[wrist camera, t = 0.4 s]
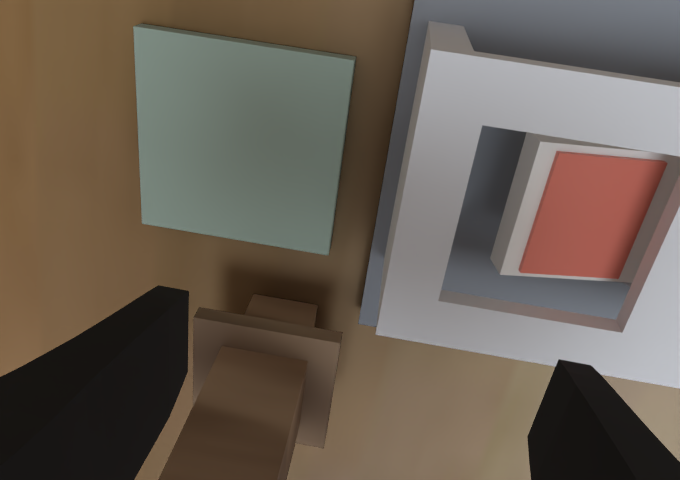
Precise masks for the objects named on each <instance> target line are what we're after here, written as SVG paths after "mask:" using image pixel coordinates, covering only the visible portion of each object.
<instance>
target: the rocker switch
mask: <svg viewBox="0 0 680 480" xmlns="http://www.w3.org/2000/svg"><path fill="white" fill-rule="evenodd" d="M679 175H680V156H673V155H667V154H661V153H654V152H648V151H642V150H635V149H629V148H623V147H617V146H610V145H604V144H598V143H591V142H585V141H579V140H572V139H566V138H560V137H553V136H547V135H541V134H534V133H528V132H527V133H526V136H525V140H524V143H523V147H522V150H521V154H520V157H519V161H518V164H517V167H516V171H515V174H514V178H513V181H512V185H511V188H510V191H509V195H508V198H507V202H506V205H505V209H504V212H503V216H502V219H501V222H500V226H499V229H498V233H497V236H496V240H495V243H494V247H493V250H492V253H491V257H490V259H491V261H492V262H493V264H494V266H495V267H496V269H497V271H498V273H499V274H500V275H512V276H529V277H545V278H562V279H578V280H595V281H611V282H622V283H624V284H625V285H627V286H629V287H631V284H632V282H633V280H634V277H635V275H636V273H637V271H638V268H639V266H640V264H641V261H642V259H643V257H644V255H645V252H646V250H647V248H648V246H649V243H650V241H651V239H652V236H653V234H654V232H655V230H656V227H657V225H658V223H659V220H660V218H661V216H662V214H663V211H664V209H665V207H666V204H667V202H668V200H669V198H670V195H671V193H672V191H673V188H674V186H675V184H676V182H677V179H678V177H679Z"/></svg>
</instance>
